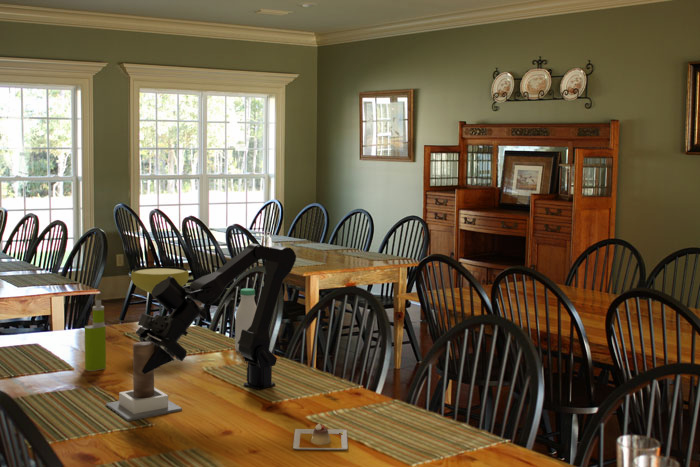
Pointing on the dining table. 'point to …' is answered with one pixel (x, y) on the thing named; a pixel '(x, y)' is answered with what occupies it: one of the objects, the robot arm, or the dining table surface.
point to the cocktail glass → (157, 277)
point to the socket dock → (142, 405)
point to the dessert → (320, 437)
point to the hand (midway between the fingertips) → (138, 370)
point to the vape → (96, 340)
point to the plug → (141, 381)
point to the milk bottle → (244, 313)
